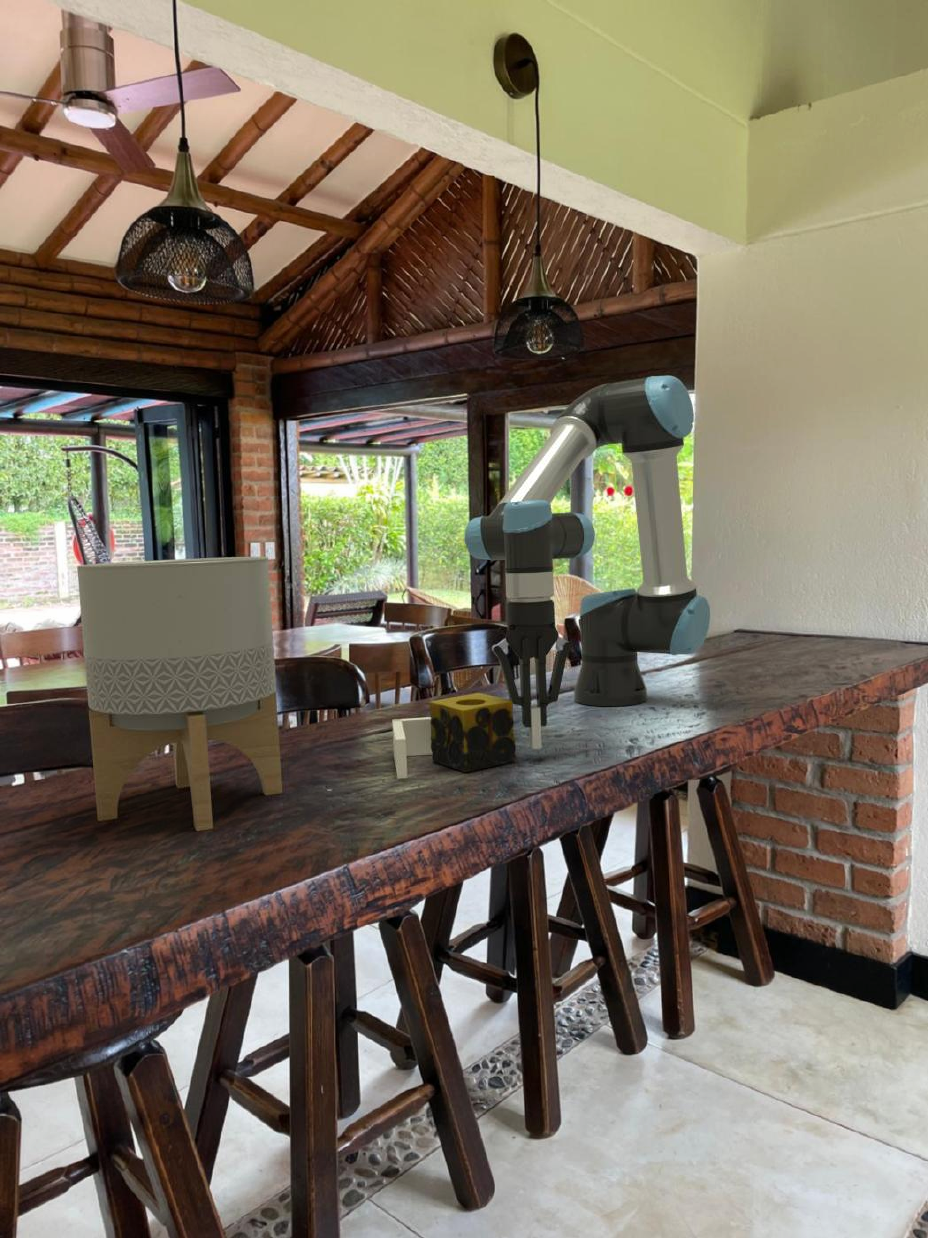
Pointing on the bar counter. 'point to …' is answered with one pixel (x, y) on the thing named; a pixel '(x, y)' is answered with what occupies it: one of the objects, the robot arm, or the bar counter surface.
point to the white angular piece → (410, 741)
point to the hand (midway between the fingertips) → (535, 746)
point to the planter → (179, 670)
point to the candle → (472, 732)
